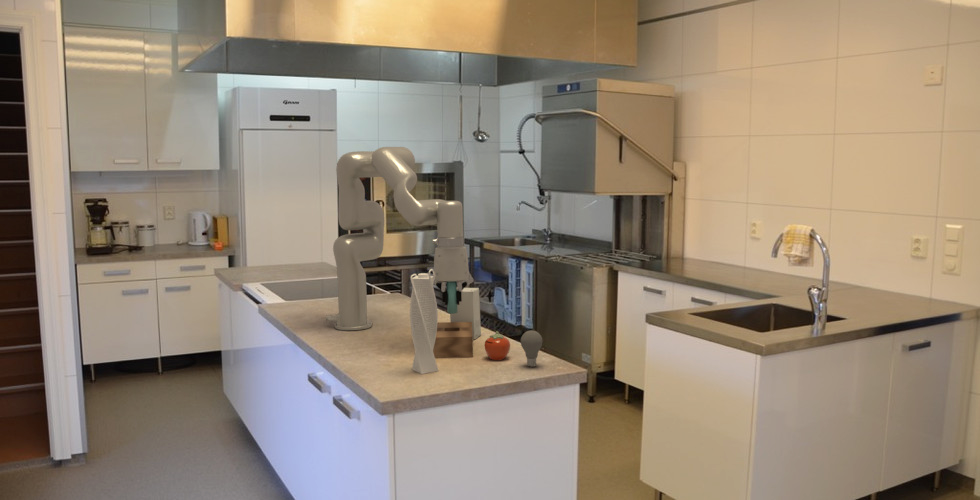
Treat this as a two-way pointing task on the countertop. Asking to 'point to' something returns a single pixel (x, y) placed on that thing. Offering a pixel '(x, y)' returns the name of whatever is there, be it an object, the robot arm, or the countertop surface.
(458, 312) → the skincare box
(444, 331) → the walnut socket block
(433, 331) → the skyscraper
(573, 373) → the countertop surface
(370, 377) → the countertop surface
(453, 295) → the teal peg
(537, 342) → the light bulb
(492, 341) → the tomato
